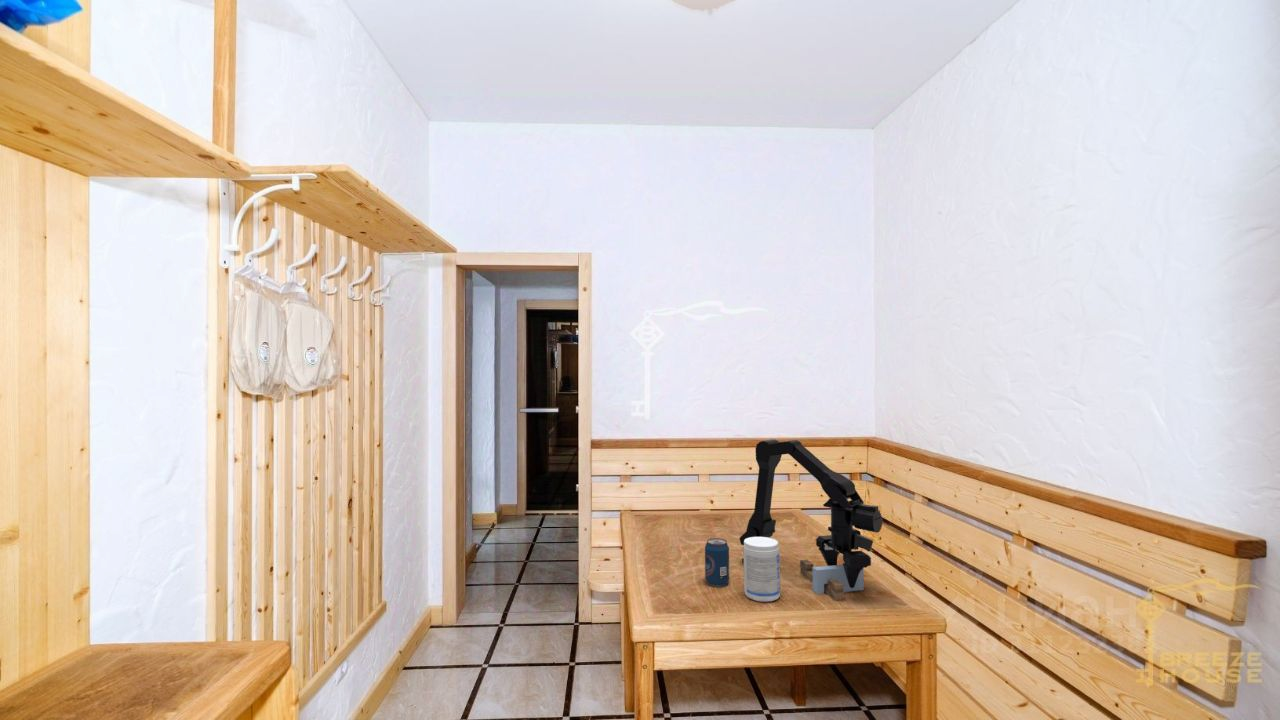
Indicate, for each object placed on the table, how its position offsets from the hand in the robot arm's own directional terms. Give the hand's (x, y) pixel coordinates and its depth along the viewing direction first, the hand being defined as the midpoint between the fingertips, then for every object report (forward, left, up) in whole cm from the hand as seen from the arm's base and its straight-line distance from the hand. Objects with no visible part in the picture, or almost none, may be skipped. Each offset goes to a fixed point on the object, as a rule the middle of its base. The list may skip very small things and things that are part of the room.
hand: (842, 581), depth 151 cm
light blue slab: (-1, 0, -2) cm, 3 cm away
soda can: (-32, +12, -3) cm, 35 cm away
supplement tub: (-23, +1, -3) cm, 24 cm away
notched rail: (-4, +4, -2) cm, 6 cm away
